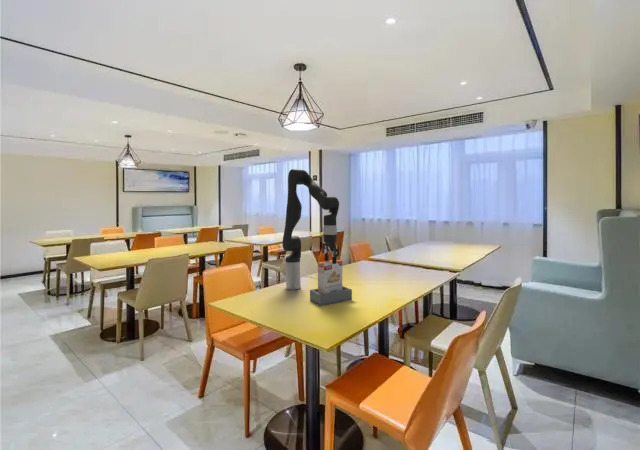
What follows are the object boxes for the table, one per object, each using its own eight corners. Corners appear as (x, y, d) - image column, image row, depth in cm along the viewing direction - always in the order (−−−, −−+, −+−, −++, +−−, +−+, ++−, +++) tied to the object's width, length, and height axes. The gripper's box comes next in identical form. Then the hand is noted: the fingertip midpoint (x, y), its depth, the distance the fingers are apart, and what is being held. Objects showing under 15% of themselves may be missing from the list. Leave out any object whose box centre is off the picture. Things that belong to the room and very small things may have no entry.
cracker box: (324, 302, 181) (324, 263, 179) (317, 299, 185) (316, 262, 184) (343, 296, 190) (342, 260, 188) (335, 294, 194) (335, 258, 193)
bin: (310, 300, 188) (309, 289, 187) (340, 294, 197) (340, 284, 197) (320, 306, 177) (320, 294, 177) (351, 300, 187) (351, 289, 186)
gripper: (317, 232, 189) (318, 261, 190) (330, 234, 176) (331, 265, 178) (329, 231, 192) (329, 259, 194) (342, 234, 180) (343, 263, 181)
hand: (330, 262), depth 186 cm, fingers open, 8 cm apart
